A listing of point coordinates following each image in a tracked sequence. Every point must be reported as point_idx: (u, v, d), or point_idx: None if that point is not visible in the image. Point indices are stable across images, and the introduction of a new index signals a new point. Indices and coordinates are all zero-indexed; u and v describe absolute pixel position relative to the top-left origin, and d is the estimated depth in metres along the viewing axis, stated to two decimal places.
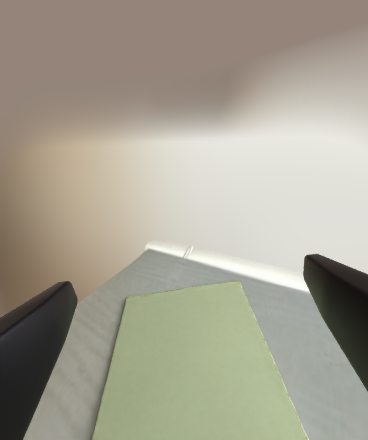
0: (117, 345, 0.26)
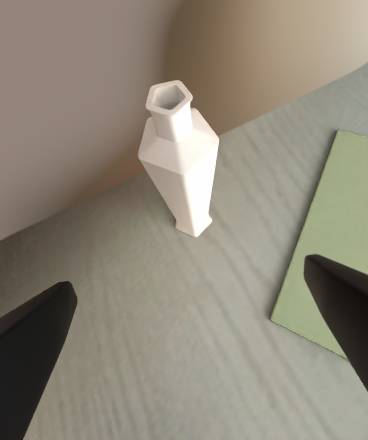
0: (320, 186, 0.24)
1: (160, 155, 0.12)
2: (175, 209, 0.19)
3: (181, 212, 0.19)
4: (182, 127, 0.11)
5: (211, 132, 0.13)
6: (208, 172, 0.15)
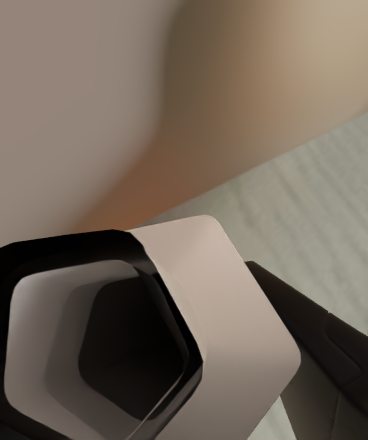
0: None
1: None
2: (169, 353, 0.10)
3: (181, 359, 0.10)
4: (165, 417, 0.02)
5: (273, 327, 0.04)
6: None
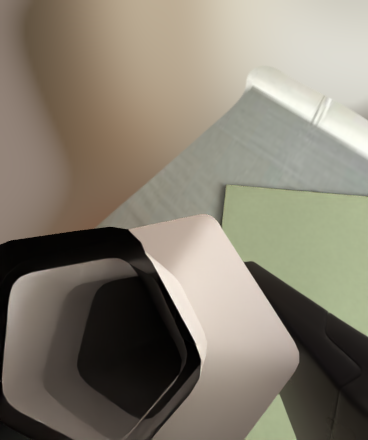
0: None
1: None
2: (169, 353, 0.10)
3: (180, 358, 0.10)
4: (163, 416, 0.02)
5: (271, 326, 0.04)
6: None
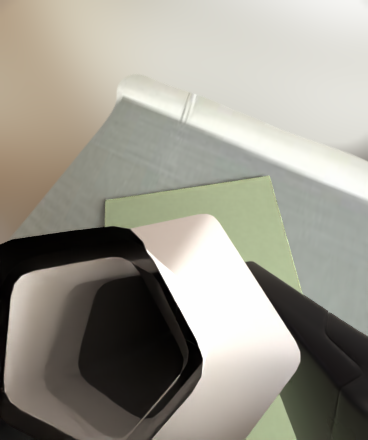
0: None
1: None
2: (169, 352, 0.10)
3: (181, 358, 0.10)
4: (165, 415, 0.02)
5: (273, 325, 0.04)
6: None
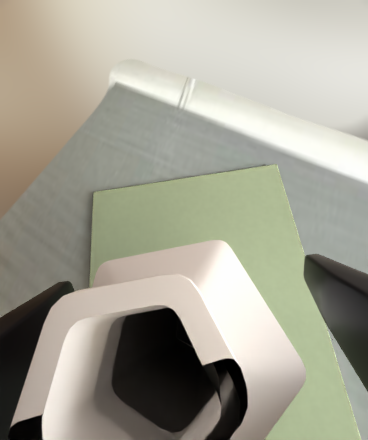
0: (92, 281, 0.18)
1: None
2: (174, 359, 0.10)
3: (185, 364, 0.10)
4: None
5: (281, 346, 0.04)
6: None
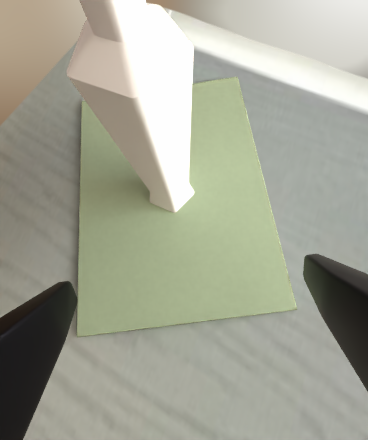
0: (82, 167, 0.21)
1: (99, 67, 0.08)
2: (143, 173, 0.15)
3: (151, 177, 0.15)
4: (128, 9, 0.07)
5: (182, 35, 0.08)
6: (182, 110, 0.10)
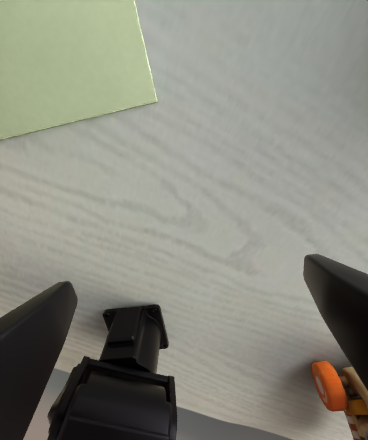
0: None
1: None
2: None
3: None
4: None
5: None
6: None
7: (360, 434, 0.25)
